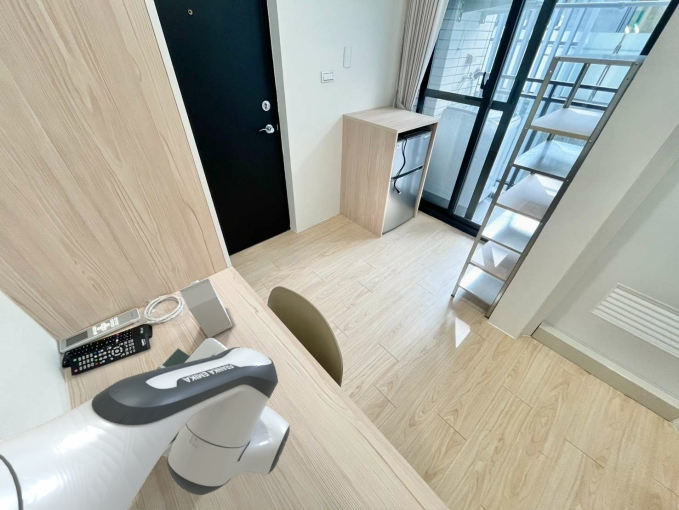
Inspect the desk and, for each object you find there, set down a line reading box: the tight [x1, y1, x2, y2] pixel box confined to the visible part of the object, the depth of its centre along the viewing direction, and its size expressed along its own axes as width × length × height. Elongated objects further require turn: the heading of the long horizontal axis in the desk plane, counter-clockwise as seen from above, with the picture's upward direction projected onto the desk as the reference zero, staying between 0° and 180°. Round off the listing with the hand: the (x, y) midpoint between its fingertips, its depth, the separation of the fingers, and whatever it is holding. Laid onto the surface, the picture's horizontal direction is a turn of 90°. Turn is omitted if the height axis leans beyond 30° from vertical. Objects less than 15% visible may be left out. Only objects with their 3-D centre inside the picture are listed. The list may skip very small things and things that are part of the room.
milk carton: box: [178, 277, 233, 339], centre depth 75 cm, size 7×7×19 cm
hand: (155, 372), depth 53 cm, fingers closed
